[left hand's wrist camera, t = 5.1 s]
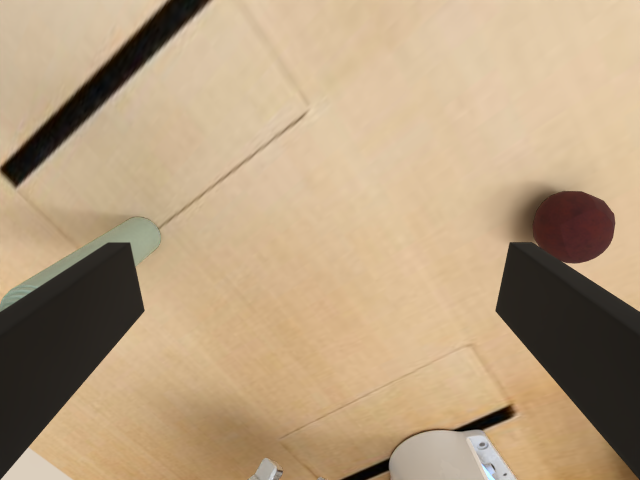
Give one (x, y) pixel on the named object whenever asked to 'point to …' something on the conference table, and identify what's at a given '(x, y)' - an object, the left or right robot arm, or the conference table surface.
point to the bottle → (133, 230)
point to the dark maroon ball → (573, 226)
